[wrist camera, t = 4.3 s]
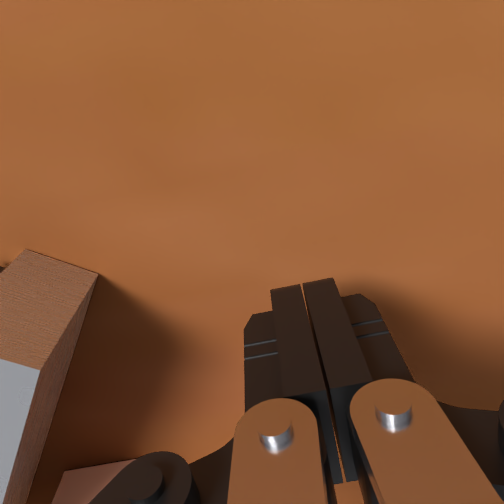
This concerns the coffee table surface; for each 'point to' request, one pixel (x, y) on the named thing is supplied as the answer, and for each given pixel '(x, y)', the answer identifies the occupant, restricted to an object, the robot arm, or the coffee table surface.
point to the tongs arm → (35, 358)
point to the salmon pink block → (86, 482)
